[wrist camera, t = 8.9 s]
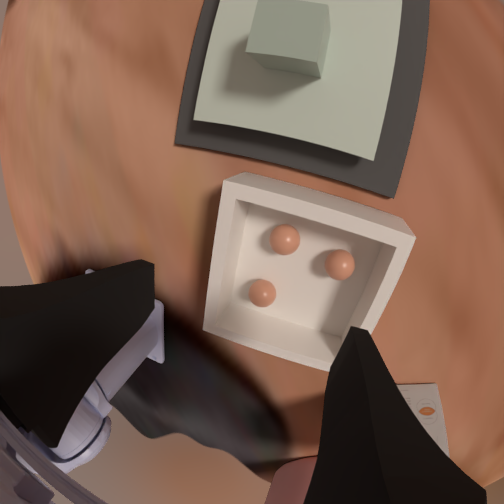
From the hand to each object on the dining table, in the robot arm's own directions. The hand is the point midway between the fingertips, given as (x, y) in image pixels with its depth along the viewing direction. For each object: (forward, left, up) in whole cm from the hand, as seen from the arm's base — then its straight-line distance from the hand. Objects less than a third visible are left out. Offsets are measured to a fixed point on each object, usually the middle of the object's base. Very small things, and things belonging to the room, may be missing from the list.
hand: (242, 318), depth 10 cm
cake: (+18, -33, -10) cm, 39 cm away
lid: (-1, +11, -8) cm, 14 cm away
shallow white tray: (+2, -2, -9) cm, 10 cm away
